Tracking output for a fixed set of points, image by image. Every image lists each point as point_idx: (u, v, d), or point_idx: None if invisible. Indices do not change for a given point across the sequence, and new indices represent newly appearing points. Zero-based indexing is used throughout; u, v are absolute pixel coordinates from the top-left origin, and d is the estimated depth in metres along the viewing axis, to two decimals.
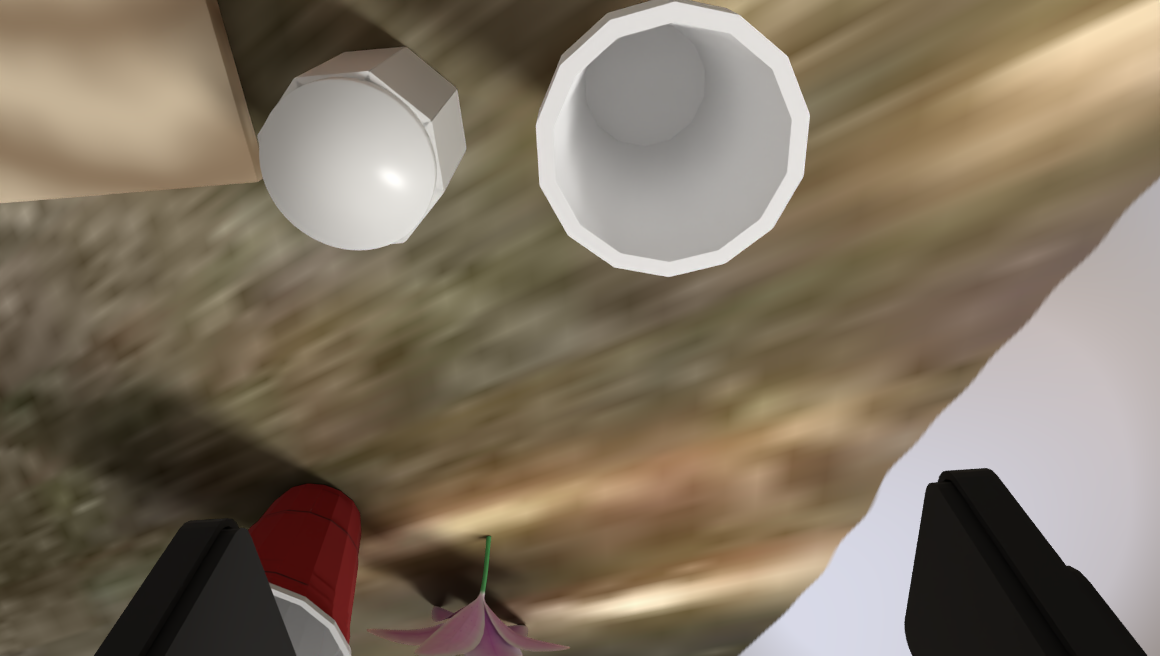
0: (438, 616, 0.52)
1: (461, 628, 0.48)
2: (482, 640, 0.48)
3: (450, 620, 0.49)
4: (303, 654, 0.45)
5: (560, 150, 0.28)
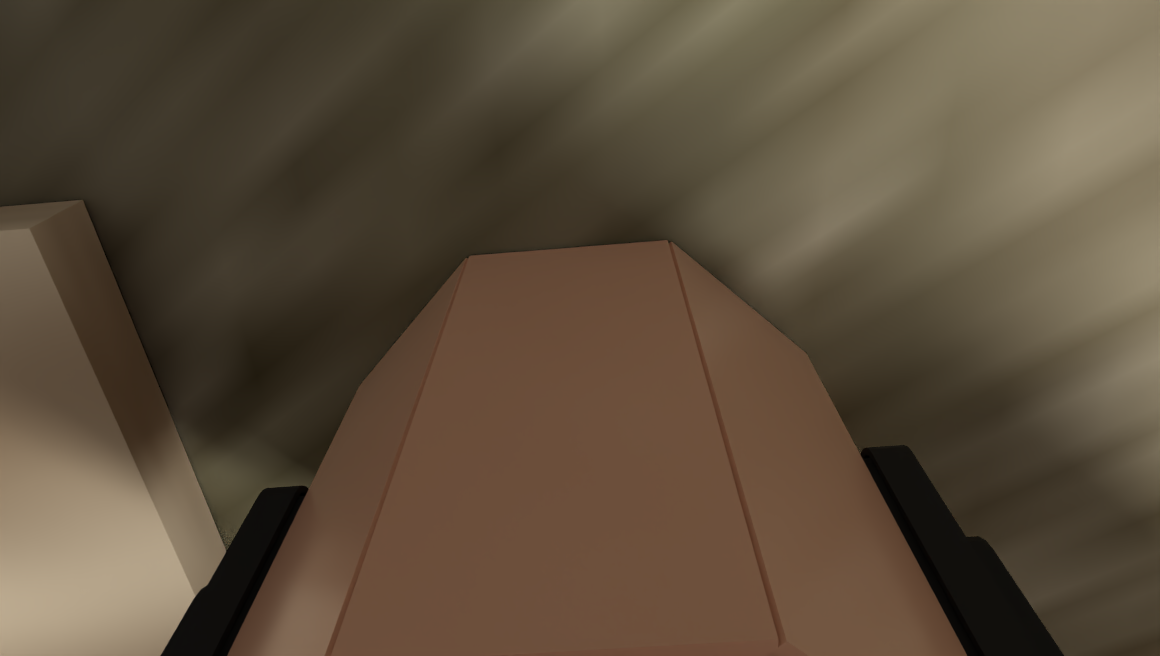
0: None
1: None
2: None
3: None
4: None
5: None
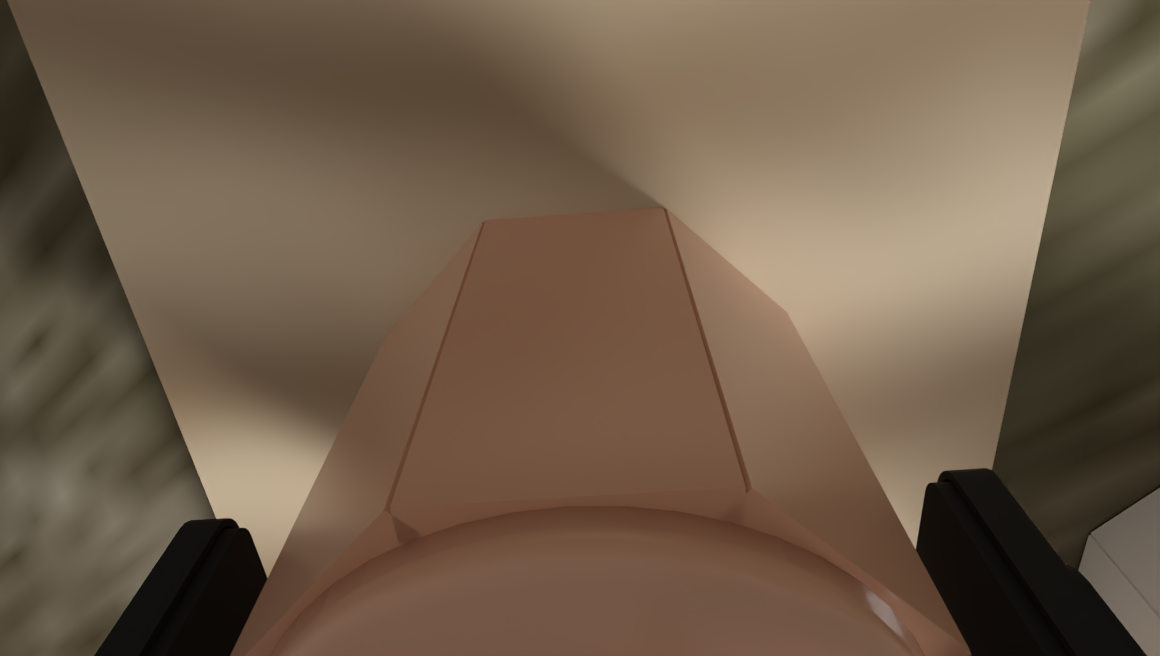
0: None
1: None
2: None
3: None
4: None
5: None
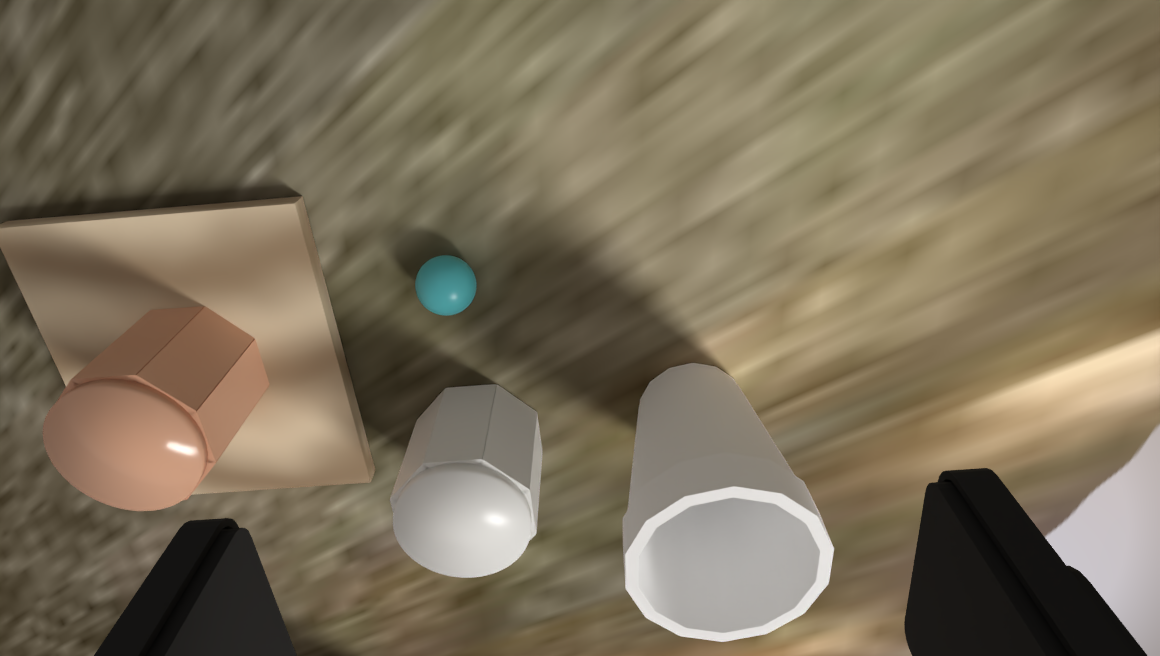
0: None
1: None
2: None
3: None
4: None
5: None
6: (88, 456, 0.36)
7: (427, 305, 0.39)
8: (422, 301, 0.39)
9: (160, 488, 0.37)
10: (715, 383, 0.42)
